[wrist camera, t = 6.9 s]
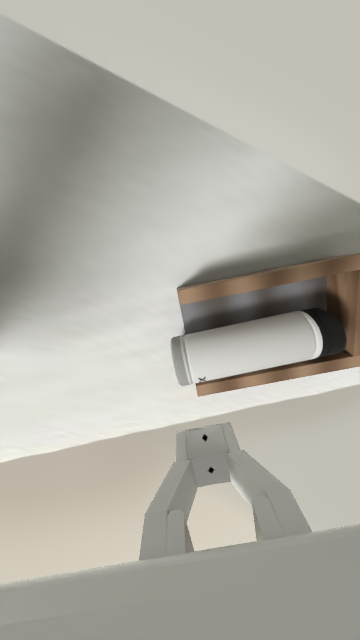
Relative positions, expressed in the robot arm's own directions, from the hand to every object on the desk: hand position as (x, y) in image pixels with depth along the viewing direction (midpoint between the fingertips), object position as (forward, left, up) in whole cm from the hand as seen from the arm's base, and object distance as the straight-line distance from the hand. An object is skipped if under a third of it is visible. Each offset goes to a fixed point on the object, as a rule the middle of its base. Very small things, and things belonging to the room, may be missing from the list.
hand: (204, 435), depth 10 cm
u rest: (+8, +8, -17) cm, 20 cm away
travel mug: (0, -3, -13) cm, 13 cm away
